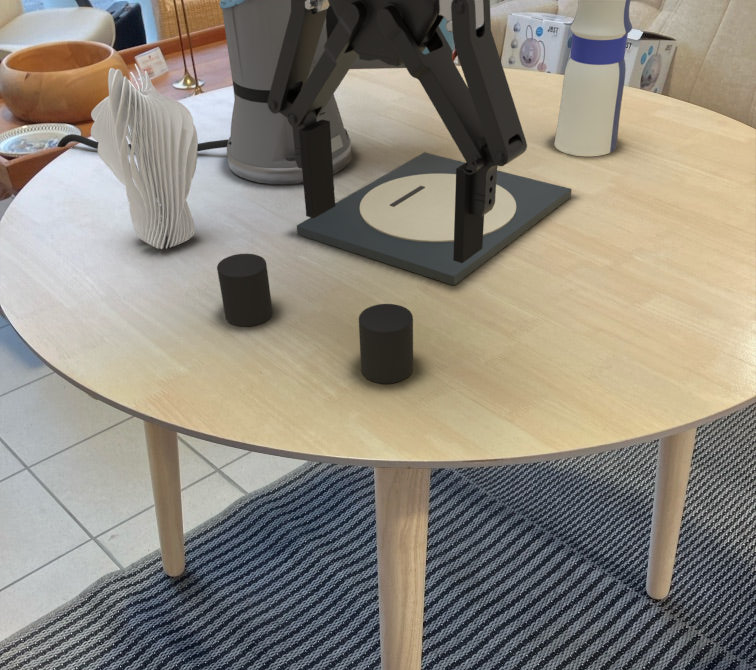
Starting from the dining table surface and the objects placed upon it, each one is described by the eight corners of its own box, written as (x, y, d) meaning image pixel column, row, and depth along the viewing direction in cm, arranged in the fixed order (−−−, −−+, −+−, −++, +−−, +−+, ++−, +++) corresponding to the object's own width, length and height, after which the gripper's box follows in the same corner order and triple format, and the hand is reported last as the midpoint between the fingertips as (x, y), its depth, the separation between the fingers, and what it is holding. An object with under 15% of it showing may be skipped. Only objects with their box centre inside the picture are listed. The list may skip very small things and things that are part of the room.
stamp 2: (350, 372, 72) (347, 321, 69) (381, 349, 75) (380, 297, 71) (392, 390, 70) (391, 337, 67) (423, 365, 73) (423, 313, 69)
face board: (297, 234, 91) (295, 222, 91) (424, 160, 105) (424, 149, 104) (454, 285, 82) (454, 273, 82) (570, 197, 96) (572, 186, 95)
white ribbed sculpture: (174, 216, 96) (138, 39, 83) (218, 239, 91) (187, 55, 79) (109, 242, 91) (62, 59, 79) (153, 267, 87) (110, 77, 75)
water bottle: (560, 128, 112) (586, -105, 95) (626, 137, 109) (665, -102, 92) (540, 150, 106) (564, -92, 89) (608, 160, 103) (646, -88, 86)
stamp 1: (215, 317, 79) (206, 268, 76) (247, 297, 82) (240, 248, 79) (250, 331, 77) (242, 281, 74) (282, 310, 80) (276, 261, 77)
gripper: (187, -117, 53) (235, 211, 68) (543, -90, 42) (510, 298, 56) (267, -132, 58) (297, 179, 72) (609, -112, 46) (564, 254, 61)
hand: (390, 232), depth 64 cm, fingers open, 13 cm apart
